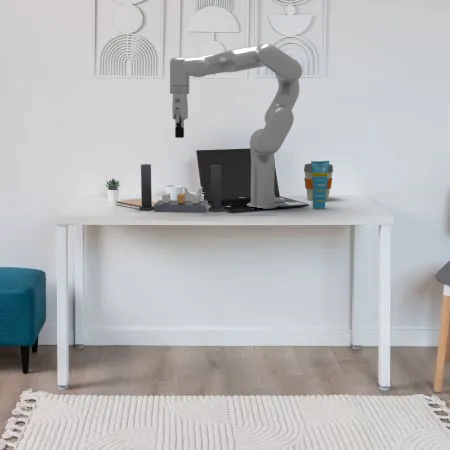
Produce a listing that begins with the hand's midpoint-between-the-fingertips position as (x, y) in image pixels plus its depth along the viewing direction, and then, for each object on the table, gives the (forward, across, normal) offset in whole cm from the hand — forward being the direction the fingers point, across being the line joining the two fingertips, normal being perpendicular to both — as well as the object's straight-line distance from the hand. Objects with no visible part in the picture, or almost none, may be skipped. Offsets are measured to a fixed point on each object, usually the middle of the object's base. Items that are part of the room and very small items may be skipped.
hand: (179, 137), depth 303 cm
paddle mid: (+26, 0, -1) cm, 26 cm away
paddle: (+26, 0, -7) cm, 27 cm away
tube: (+28, +9, -56) cm, 63 cm away
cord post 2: (+29, 0, -15) cm, 32 cm away
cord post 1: (+29, 0, +13) cm, 32 cm away
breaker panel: (+29, 0, -1) cm, 29 cm away
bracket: (+29, +20, -4) cm, 35 cm away
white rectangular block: (+26, 0, +5) cm, 26 cm away
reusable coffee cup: (+28, +32, -56) cm, 70 cm away
